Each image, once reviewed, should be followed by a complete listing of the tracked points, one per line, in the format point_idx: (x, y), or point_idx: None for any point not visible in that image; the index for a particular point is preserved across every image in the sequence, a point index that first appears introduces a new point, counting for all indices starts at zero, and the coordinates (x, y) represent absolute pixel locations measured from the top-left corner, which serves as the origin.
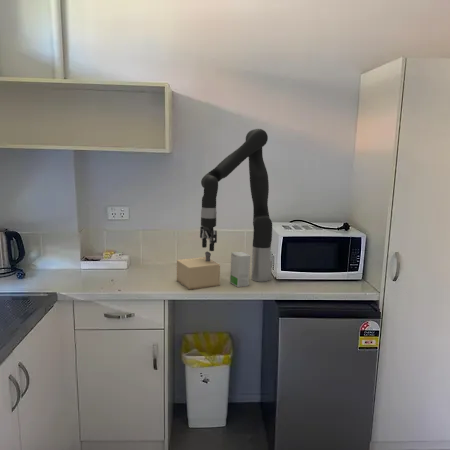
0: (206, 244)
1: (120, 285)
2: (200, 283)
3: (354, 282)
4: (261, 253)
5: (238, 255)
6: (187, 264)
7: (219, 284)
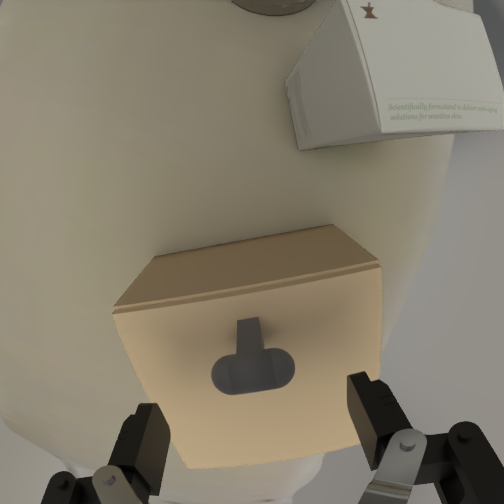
0: (147, 424)
1: (225, 499)
2: None
3: None
4: None
5: (493, 122)
6: (304, 446)
7: (334, 226)
